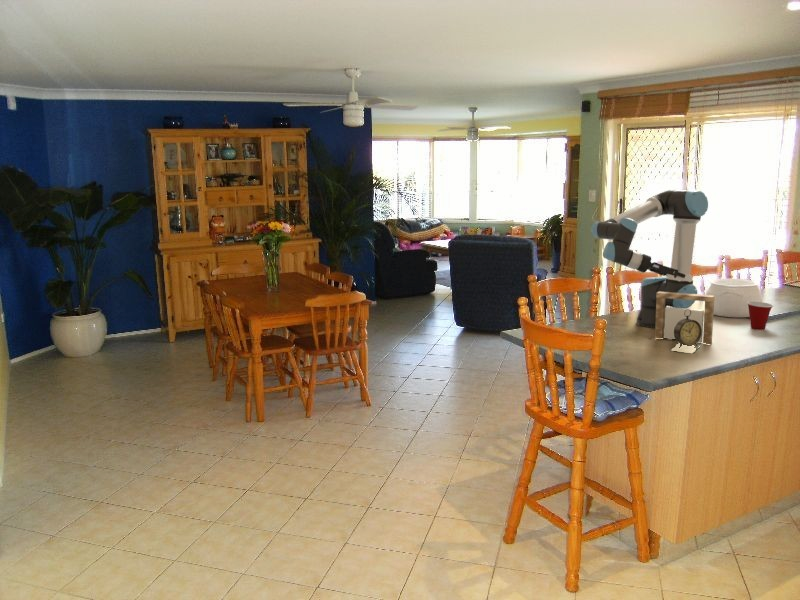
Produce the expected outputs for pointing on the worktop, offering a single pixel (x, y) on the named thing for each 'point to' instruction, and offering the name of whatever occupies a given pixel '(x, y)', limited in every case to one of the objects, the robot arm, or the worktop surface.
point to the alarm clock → (687, 331)
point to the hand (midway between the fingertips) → (686, 278)
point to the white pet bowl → (733, 296)
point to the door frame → (697, 297)
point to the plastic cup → (759, 314)
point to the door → (676, 315)
